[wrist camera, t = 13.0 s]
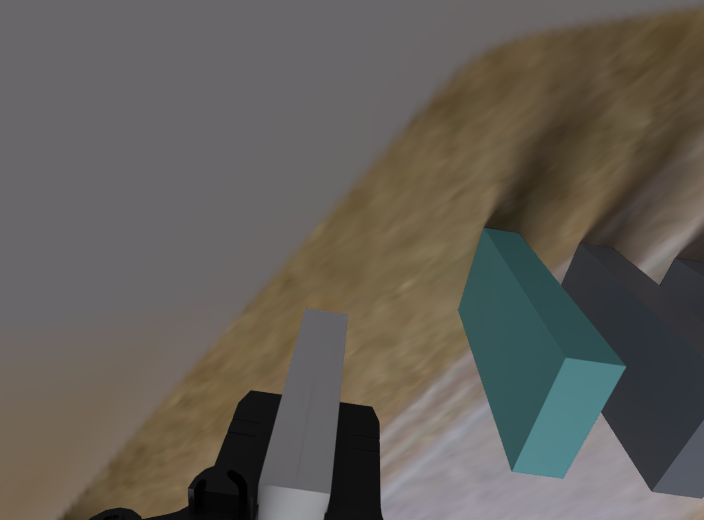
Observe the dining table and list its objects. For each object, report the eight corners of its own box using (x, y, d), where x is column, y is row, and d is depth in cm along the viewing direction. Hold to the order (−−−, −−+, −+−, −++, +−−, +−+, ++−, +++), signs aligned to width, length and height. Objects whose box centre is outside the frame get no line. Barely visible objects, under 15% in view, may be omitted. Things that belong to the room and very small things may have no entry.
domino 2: (544, 323, 23) (651, 491, 14) (579, 242, 21) (730, 382, 12) (576, 328, 23) (701, 498, 15) (613, 248, 21) (789, 391, 12)
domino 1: (458, 310, 23) (511, 471, 14) (483, 227, 21) (565, 357, 12) (490, 314, 23) (563, 478, 14) (518, 232, 21) (626, 366, 12)
